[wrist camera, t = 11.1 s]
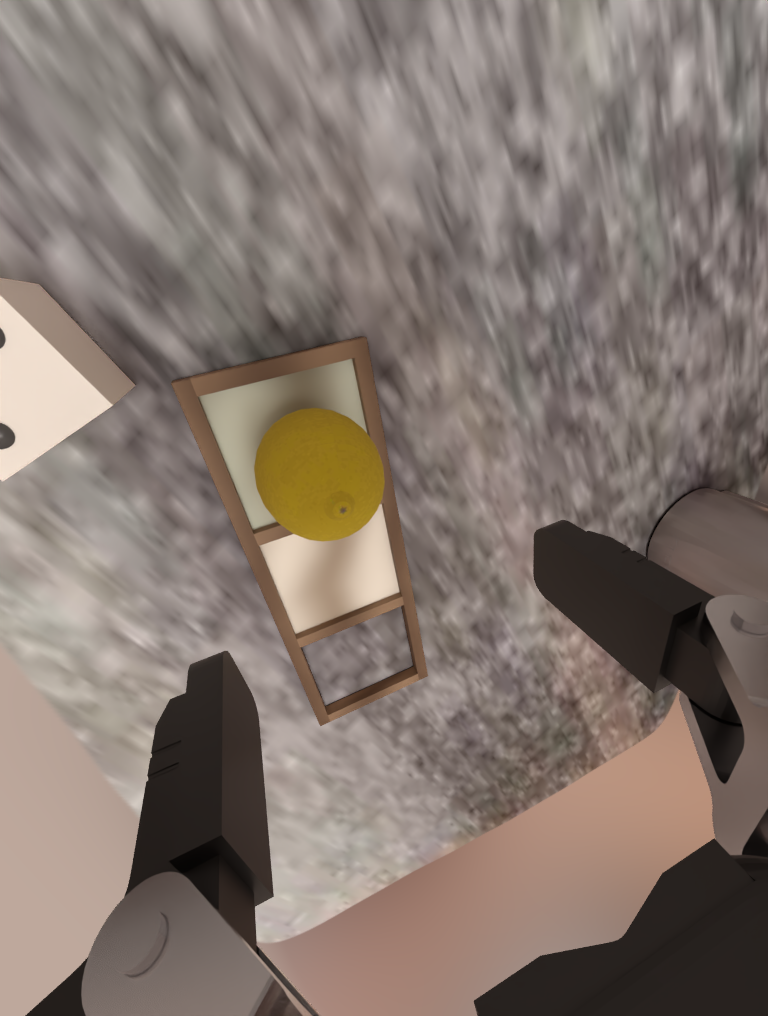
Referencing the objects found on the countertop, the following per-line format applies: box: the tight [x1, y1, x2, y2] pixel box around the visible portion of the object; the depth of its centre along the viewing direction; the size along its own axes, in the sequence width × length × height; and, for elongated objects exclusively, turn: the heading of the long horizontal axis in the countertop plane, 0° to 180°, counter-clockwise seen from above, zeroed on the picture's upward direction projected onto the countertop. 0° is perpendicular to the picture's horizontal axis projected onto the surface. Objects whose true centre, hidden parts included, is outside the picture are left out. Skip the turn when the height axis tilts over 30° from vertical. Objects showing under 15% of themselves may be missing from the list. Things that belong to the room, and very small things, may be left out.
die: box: [0, 278, 136, 481], centre depth 14 cm, size 4×4×5 cm
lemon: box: [254, 408, 385, 542], centre depth 18 cm, size 6×6×8 cm
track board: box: [171, 337, 428, 726], centre depth 25 cm, size 9×26×1 cm, turn 10°
